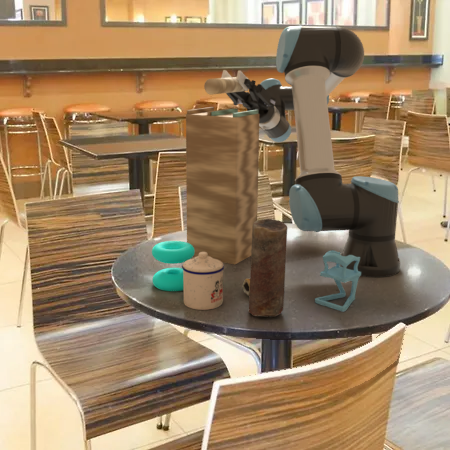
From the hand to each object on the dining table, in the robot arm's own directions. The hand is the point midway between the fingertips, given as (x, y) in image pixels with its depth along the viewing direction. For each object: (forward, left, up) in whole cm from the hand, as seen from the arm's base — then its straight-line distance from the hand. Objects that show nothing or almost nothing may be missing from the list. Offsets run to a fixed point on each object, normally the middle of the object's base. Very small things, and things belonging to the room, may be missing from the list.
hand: (230, 74), depth 177 cm
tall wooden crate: (-8, +7, -47) cm, 49 cm away
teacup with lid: (-36, +27, -48) cm, 66 cm away
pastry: (-38, +13, -48) cm, 63 cm away
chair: (-51, +1, -48) cm, 70 cm away
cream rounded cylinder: (-1, +1, -5) cm, 5 cm away
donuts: (-24, +29, -48) cm, 61 cm away
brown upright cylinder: (-49, +19, -48) cm, 71 cm away
